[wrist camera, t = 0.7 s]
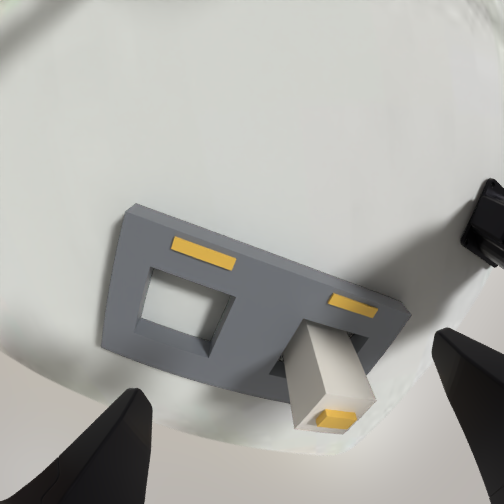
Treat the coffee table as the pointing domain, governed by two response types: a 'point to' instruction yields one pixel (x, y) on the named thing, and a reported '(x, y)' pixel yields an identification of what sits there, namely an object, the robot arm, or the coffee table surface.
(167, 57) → the coffee table surface
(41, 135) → the coffee table surface
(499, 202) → the robot arm
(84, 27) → the coffee table surface
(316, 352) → the plug
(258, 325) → the panel
